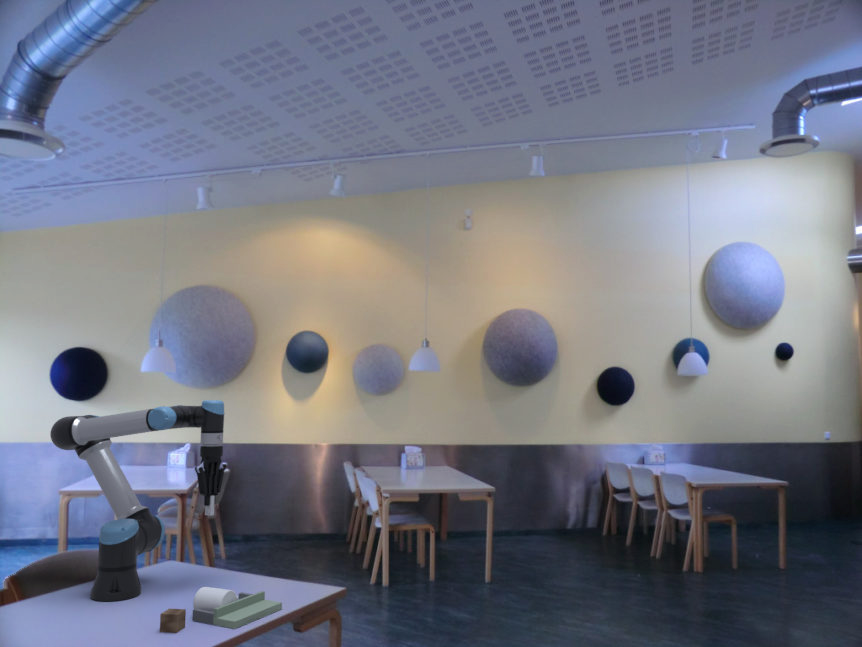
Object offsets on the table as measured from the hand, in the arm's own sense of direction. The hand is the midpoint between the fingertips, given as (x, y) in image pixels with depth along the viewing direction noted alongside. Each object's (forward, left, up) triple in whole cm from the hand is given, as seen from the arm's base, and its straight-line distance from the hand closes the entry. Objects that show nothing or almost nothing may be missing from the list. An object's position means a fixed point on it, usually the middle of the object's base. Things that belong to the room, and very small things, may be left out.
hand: (209, 514), depth 247 cm
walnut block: (+22, -36, -25) cm, 49 cm away
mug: (+23, -19, -25) cm, 39 cm away
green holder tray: (+29, -17, -24) cm, 42 cm away
